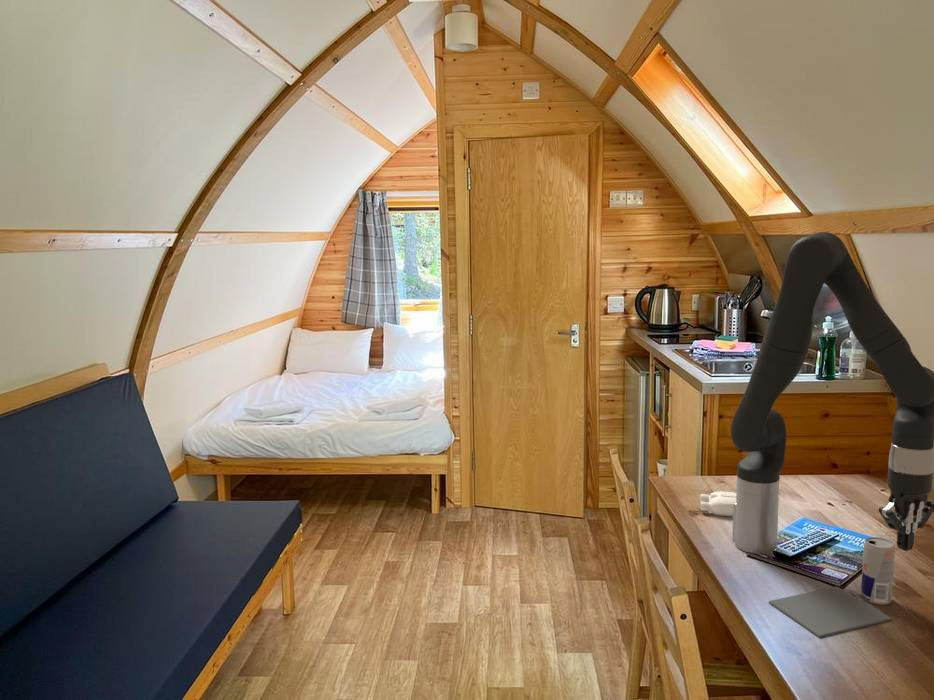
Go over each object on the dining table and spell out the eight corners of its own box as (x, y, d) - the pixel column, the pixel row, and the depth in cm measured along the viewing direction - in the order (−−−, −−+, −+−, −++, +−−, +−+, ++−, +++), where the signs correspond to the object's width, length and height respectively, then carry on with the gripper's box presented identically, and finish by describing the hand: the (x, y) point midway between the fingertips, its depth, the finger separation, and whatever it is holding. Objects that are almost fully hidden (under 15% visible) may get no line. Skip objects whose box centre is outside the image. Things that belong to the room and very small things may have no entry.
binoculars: (766, 522, 177) (766, 505, 177) (700, 516, 182) (701, 500, 182) (762, 507, 187) (762, 490, 187) (700, 502, 192) (700, 486, 191)
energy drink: (863, 589, 142) (866, 534, 141) (893, 597, 139) (897, 541, 137) (858, 600, 138) (861, 544, 136) (889, 608, 135) (893, 550, 133)
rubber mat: (768, 603, 138) (768, 601, 138) (836, 588, 143) (836, 586, 143) (818, 637, 126) (818, 635, 126) (890, 620, 131) (891, 618, 131)
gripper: (918, 457, 142) (912, 536, 145) (868, 465, 138) (863, 546, 141) (953, 468, 135) (946, 551, 138) (902, 477, 131) (895, 562, 134)
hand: (904, 548), depth 139 cm, fingers closed
